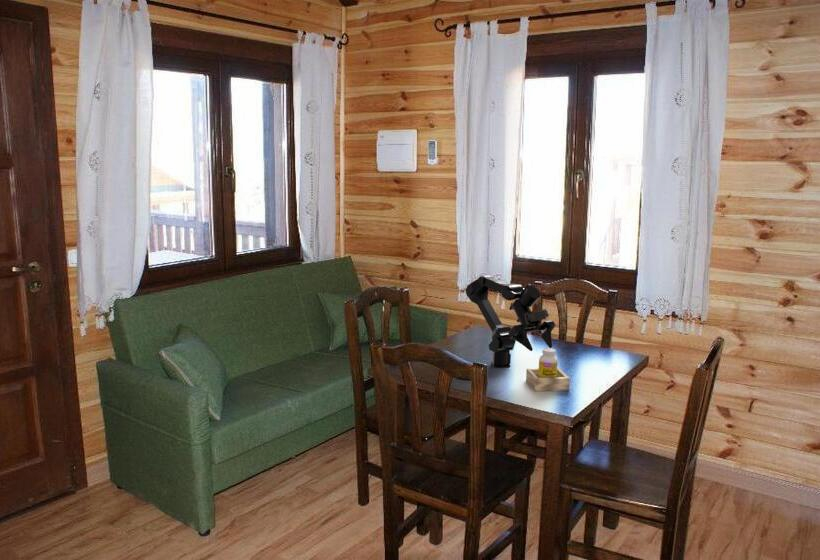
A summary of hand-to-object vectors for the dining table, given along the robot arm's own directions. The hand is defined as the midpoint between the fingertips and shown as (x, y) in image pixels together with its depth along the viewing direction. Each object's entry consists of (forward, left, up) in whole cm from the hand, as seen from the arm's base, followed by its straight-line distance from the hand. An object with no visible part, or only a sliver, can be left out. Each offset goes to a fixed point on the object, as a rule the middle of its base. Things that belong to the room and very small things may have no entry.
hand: (541, 349), depth 258 cm
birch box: (+2, -4, -13) cm, 13 cm away
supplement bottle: (+1, -4, -12) cm, 13 cm away
